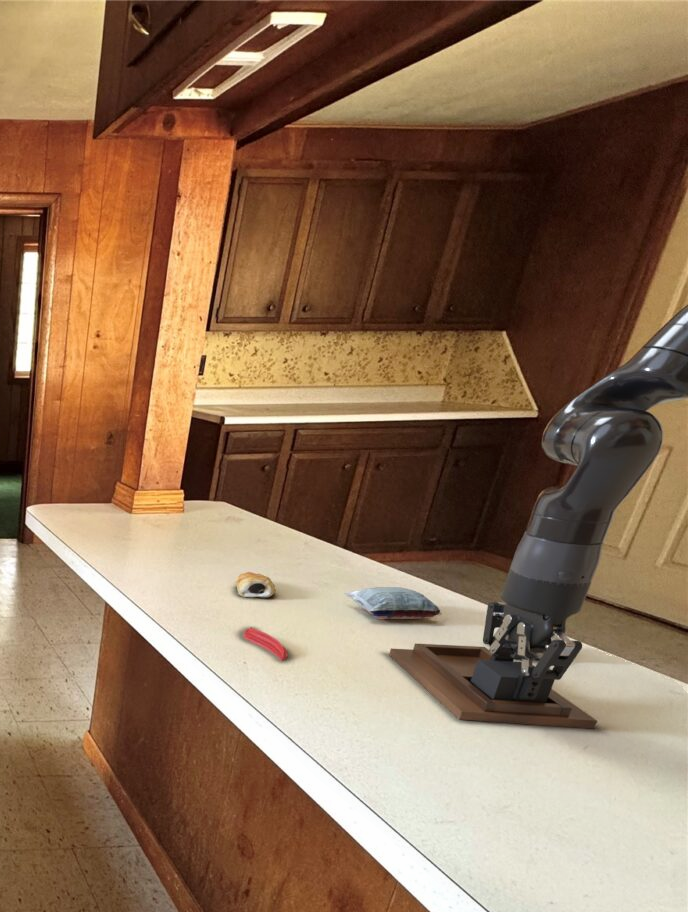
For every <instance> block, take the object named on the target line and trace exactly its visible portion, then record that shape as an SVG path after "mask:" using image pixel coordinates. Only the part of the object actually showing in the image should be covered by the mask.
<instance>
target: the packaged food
mask: <svg viewBox="0 0 688 912" xmlns="http://www.w3.org/2000/svg"><path fill="white" fill-rule="evenodd" d="M344 595H345V596H346V597H347V598H350V599H351V600H352V601H353V602H354V603H355V604H356V605H358V606H359V607H361V608H362V609H364V610H365V611H367V612H368V613H369V614H370V615H371V616H373V617H374V618H375V619H377V620H415V619H417V620H418V619H419V620H420V619H428V618H434V617H437V616H441V615H442V612H441V610H440V608H439V607H438V606H437V604H435V603H434V602H433V601H432V600H430V598H428V597H427V596H425V595H424V594H422V593H420V592H418V591H416V590H414V589H409V588H406V587H401V586H375V587H367V588H363V589H358V590H354V591H351V592H349V591H347V590H345V591H344Z"/></svg>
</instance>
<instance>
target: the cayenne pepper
mask: <svg viewBox="0 0 688 912" xmlns="http://www.w3.org/2000/svg"><path fill="white" fill-rule="evenodd" d="M243 637H244V639H245V640H247V641H249V642H250V643H252V644H255V645H257V646H260V647H262V648H263V649H265V650H267V651H269V652H270V653H272V654H273V655H275V656H276V657H277V658H279V660H280V661H281V662H282V661H285V660H287V658H288V655H289V654H288V650H287V648H286V647H284V646H283V644H282V643H281V642H280V641H279V640H278V639H276V638H275V637H273V636H271V635H270V634H268V633H266V632H264V631H262V630H259V629H256V628H253V627H250V628H247V629H245V631H244V634H243Z"/></svg>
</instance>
